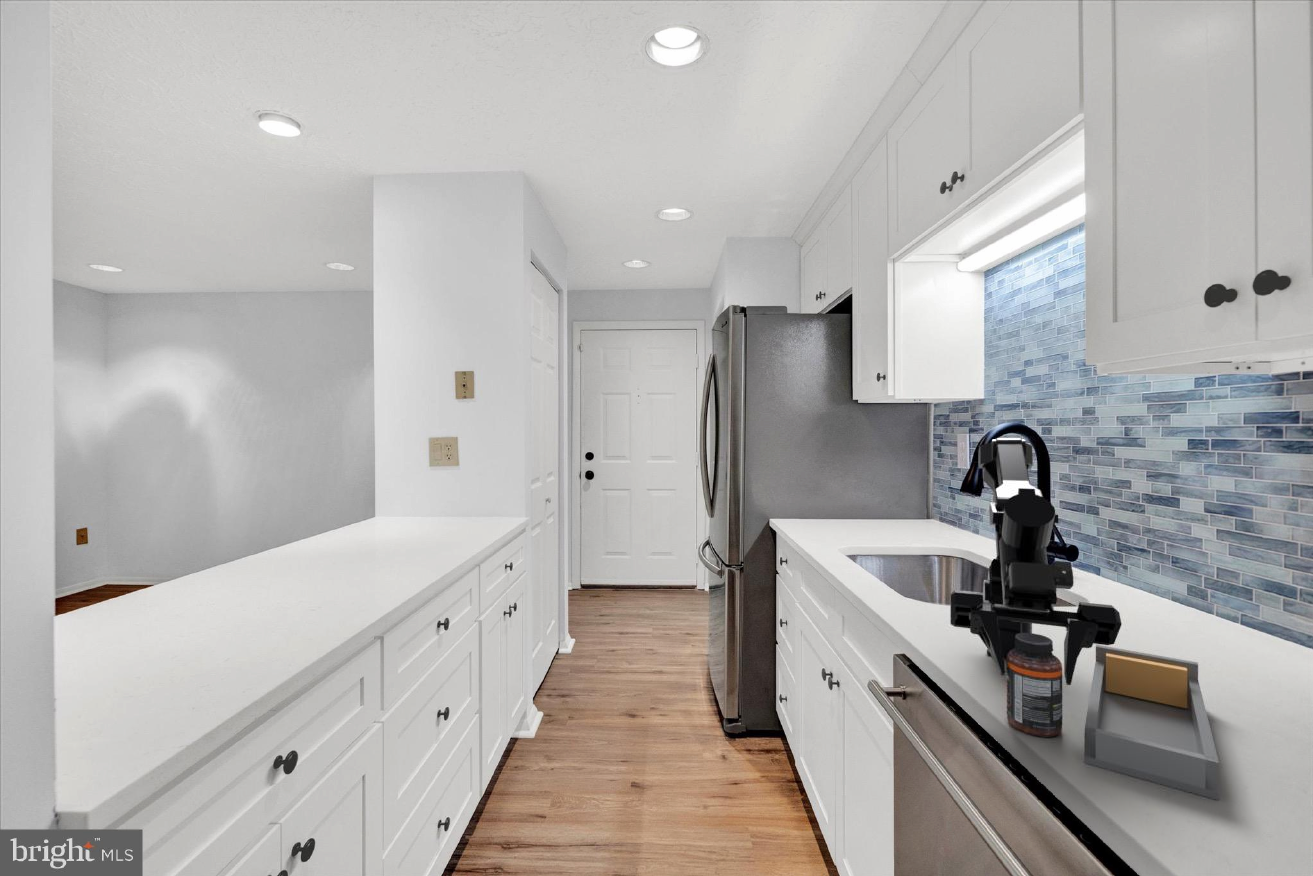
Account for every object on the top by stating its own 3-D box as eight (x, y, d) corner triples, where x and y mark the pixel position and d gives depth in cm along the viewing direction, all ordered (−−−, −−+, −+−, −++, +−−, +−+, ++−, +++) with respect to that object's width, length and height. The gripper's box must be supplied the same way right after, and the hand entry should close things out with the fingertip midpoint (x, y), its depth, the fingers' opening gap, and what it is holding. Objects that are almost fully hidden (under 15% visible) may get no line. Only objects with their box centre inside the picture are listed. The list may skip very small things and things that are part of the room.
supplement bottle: (1010, 711, 79) (1010, 626, 79) (1064, 725, 75) (1065, 636, 75) (1002, 728, 75) (1002, 639, 74) (1059, 744, 71) (1059, 649, 71)
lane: (1095, 684, 87) (1096, 644, 87) (1197, 705, 80) (1197, 662, 80) (1084, 762, 67) (1084, 711, 67) (1218, 800, 60) (1219, 743, 60)
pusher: (1106, 681, 85) (1106, 647, 85) (1185, 697, 80) (1185, 661, 80) (1105, 691, 82) (1105, 655, 82) (1187, 708, 77) (1187, 670, 77)
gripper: (950, 531, 82) (951, 636, 72) (1117, 541, 74) (1144, 661, 64) (950, 575, 89) (950, 676, 80) (1102, 589, 81) (1124, 703, 72)
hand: (1035, 678), depth 74 cm, fingers open, 7 cm apart
